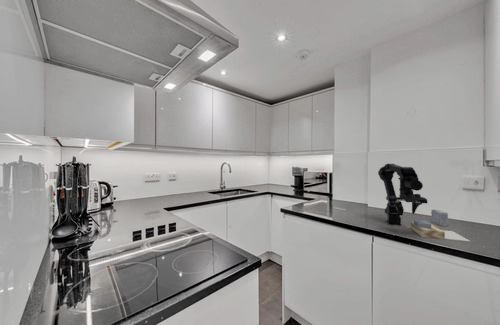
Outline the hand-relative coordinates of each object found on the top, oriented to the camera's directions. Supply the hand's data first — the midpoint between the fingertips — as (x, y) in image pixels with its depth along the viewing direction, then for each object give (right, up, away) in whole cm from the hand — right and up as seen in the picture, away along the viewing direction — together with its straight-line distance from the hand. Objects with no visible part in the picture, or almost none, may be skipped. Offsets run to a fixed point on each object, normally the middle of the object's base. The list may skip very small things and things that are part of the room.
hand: (405, 213), depth 115 cm
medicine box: (+32, -11, +12) cm, 36 cm away
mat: (+19, -11, -7) cm, 23 cm away
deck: (+9, -11, -3) cm, 15 cm away
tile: (+8, -7, -3) cm, 11 cm away
